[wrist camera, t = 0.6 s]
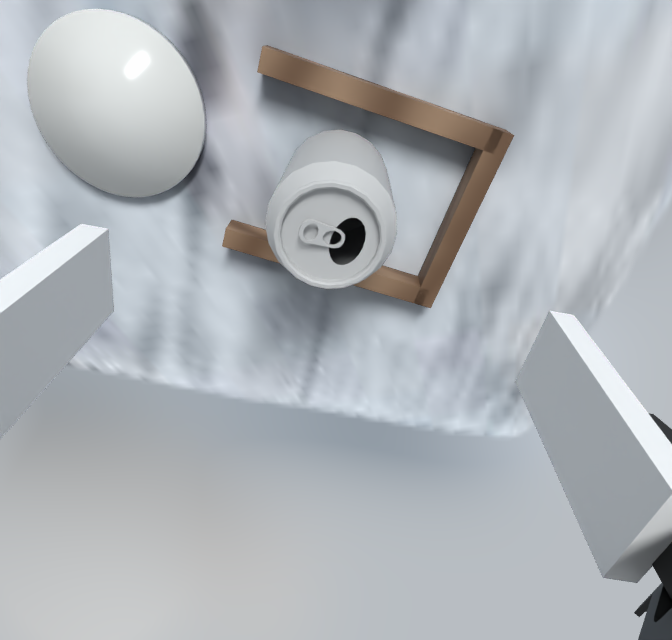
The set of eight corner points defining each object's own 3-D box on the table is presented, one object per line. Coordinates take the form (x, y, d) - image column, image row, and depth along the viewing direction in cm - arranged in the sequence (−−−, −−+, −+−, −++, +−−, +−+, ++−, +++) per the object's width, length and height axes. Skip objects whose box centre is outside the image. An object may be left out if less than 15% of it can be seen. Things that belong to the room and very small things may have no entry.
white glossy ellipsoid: (35, 166, 36) (29, 168, 35) (32, -20, 30) (24, -21, 29) (193, 214, 38) (190, 217, 37) (219, 46, 32) (216, 46, 31)
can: (363, 241, 38) (366, 318, 28) (274, 207, 37) (243, 274, 27) (404, 151, 35) (424, 201, 24) (306, 110, 33) (284, 145, 23)
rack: (228, 236, 39) (222, 246, 37) (267, 45, 31) (262, 46, 30) (427, 296, 41) (430, 308, 39) (505, 130, 34) (514, 135, 32)
